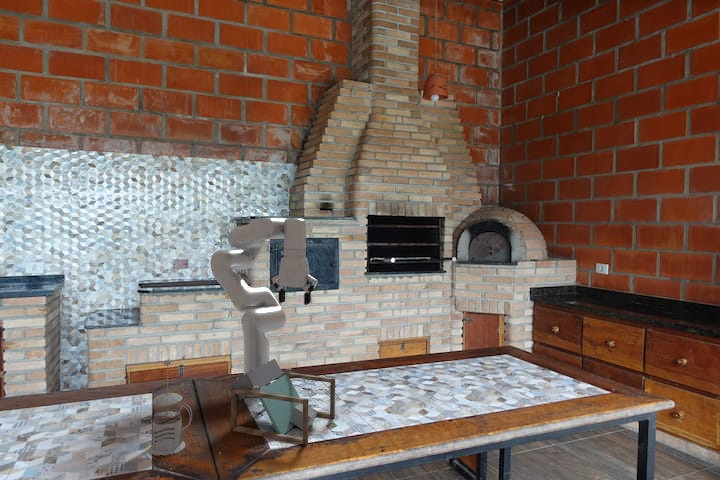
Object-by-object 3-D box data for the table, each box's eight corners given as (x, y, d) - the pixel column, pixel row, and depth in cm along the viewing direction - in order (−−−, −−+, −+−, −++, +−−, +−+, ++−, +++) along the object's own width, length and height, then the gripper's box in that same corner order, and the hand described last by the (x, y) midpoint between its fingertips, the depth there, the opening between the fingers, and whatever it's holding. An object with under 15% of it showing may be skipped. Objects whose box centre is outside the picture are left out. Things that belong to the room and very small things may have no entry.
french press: (155, 439, 140) (155, 355, 139) (195, 438, 141) (196, 354, 140) (142, 456, 130) (142, 365, 129) (186, 454, 131) (186, 364, 130)
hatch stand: (230, 430, 146) (230, 384, 146) (267, 406, 167) (267, 365, 166) (306, 444, 138) (306, 395, 137) (334, 417, 158) (335, 373, 157)
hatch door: (230, 383, 148) (248, 371, 146) (261, 367, 165) (277, 356, 163) (263, 446, 145) (282, 435, 142) (291, 423, 161) (308, 413, 159)
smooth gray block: (294, 407, 148) (310, 417, 146) (302, 401, 153) (317, 411, 151) (289, 421, 149) (305, 431, 147) (296, 415, 153) (312, 424, 152)
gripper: (267, 253, 164) (267, 303, 165) (312, 255, 159) (312, 306, 159) (278, 252, 172) (277, 300, 172) (322, 254, 166) (321, 303, 166)
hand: (294, 303), depth 166 cm, fingers open, 9 cm apart
